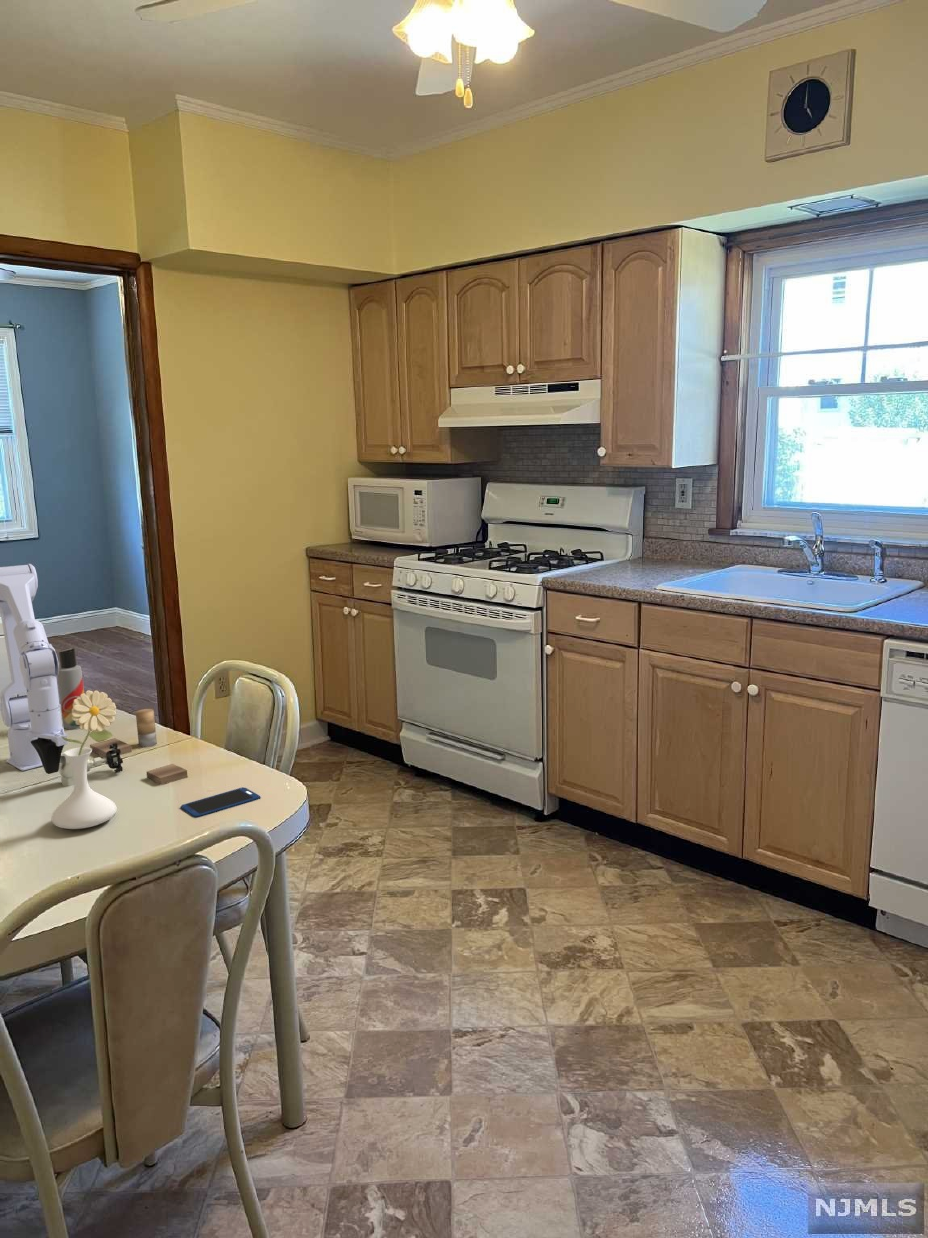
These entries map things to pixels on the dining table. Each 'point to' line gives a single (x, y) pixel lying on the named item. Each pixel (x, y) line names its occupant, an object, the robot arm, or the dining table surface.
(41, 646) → the robot arm
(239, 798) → the cell phone
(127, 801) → the dining table surface
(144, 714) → the marker peg
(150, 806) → the dining table surface
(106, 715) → the flower in vase
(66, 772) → the valve
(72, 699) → the lotion bottle
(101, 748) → the blocks
